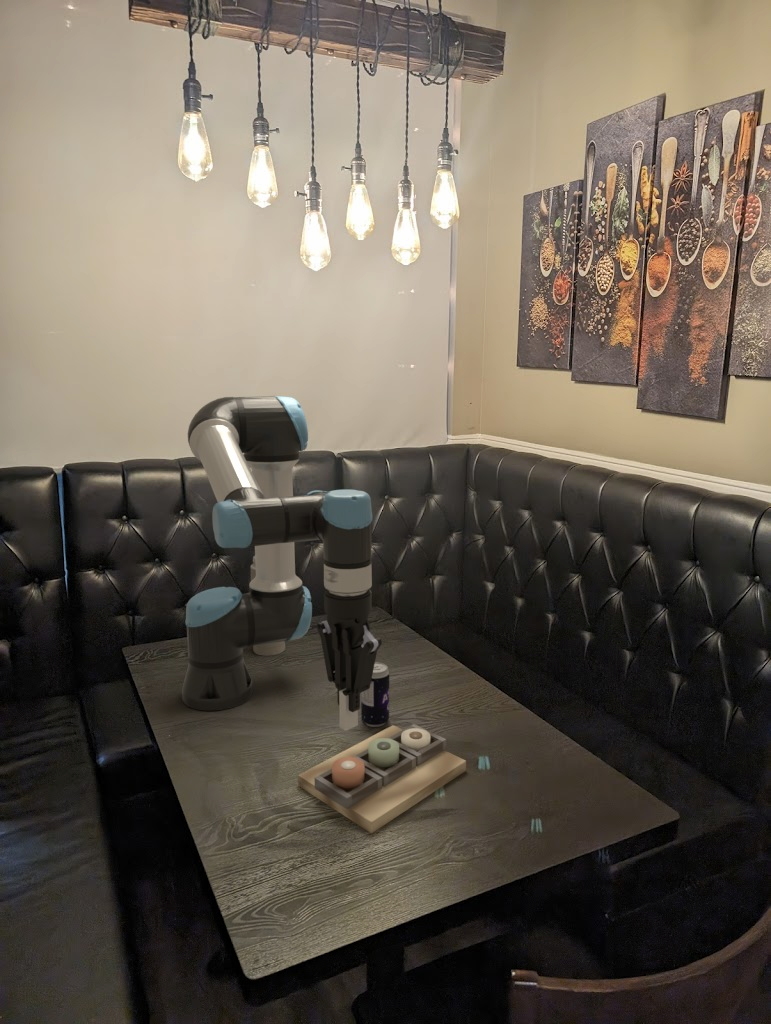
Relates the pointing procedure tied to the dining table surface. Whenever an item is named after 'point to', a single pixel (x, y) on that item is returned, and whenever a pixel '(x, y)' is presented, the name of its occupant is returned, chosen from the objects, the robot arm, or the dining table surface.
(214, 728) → the dining table surface
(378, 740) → the sage button
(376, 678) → the beverage can
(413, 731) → the cream button
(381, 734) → the panel
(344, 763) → the terracotta button
